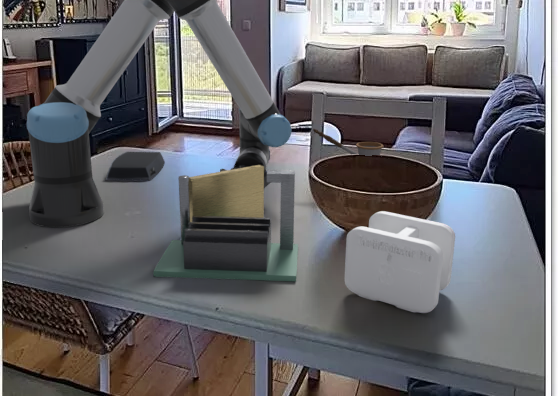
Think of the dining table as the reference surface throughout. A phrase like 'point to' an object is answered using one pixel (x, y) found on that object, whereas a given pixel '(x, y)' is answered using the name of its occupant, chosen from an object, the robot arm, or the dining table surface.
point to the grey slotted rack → (235, 232)
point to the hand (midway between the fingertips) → (239, 196)
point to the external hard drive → (136, 166)
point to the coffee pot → (363, 147)
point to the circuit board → (278, 269)
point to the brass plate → (228, 193)
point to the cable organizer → (400, 260)
